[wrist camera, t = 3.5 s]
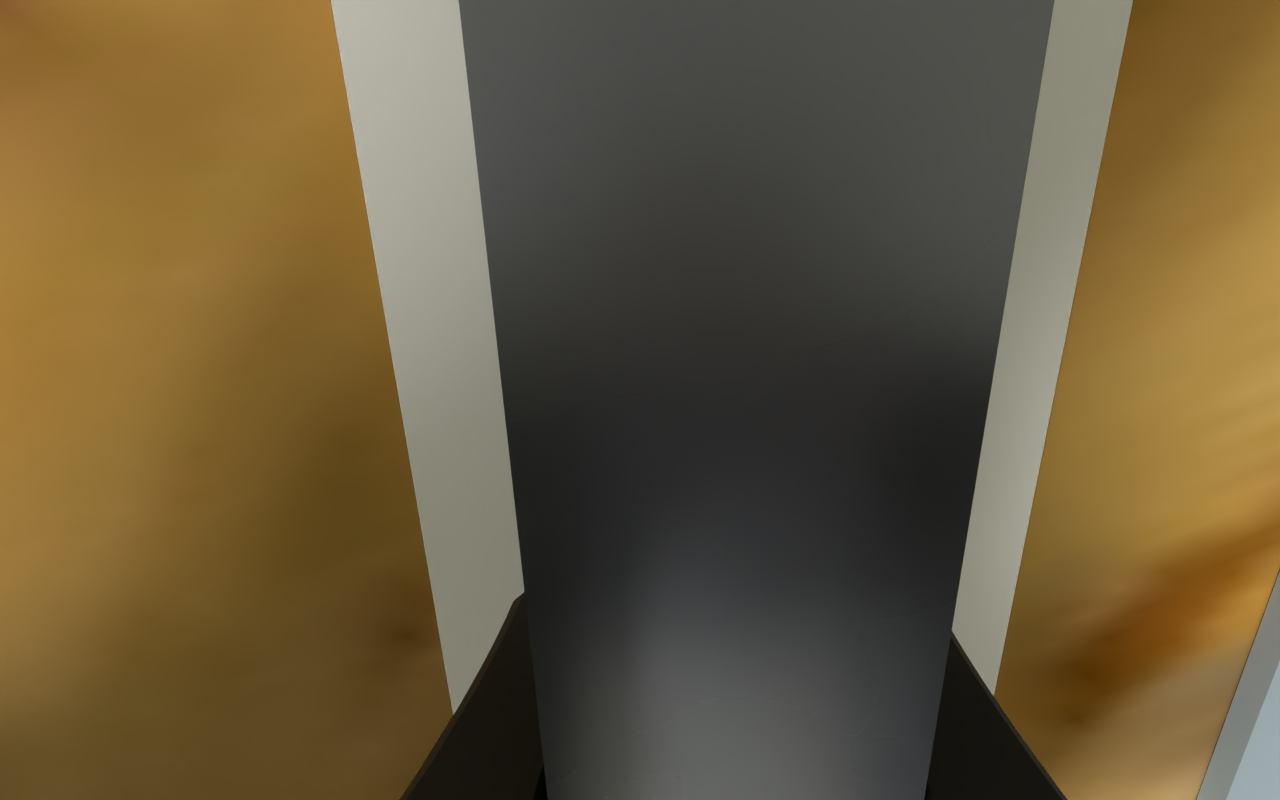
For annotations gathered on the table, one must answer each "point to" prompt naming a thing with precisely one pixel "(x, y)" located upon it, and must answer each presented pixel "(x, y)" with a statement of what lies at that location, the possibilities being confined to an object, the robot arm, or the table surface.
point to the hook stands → (466, 339)
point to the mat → (1252, 723)
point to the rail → (747, 369)
